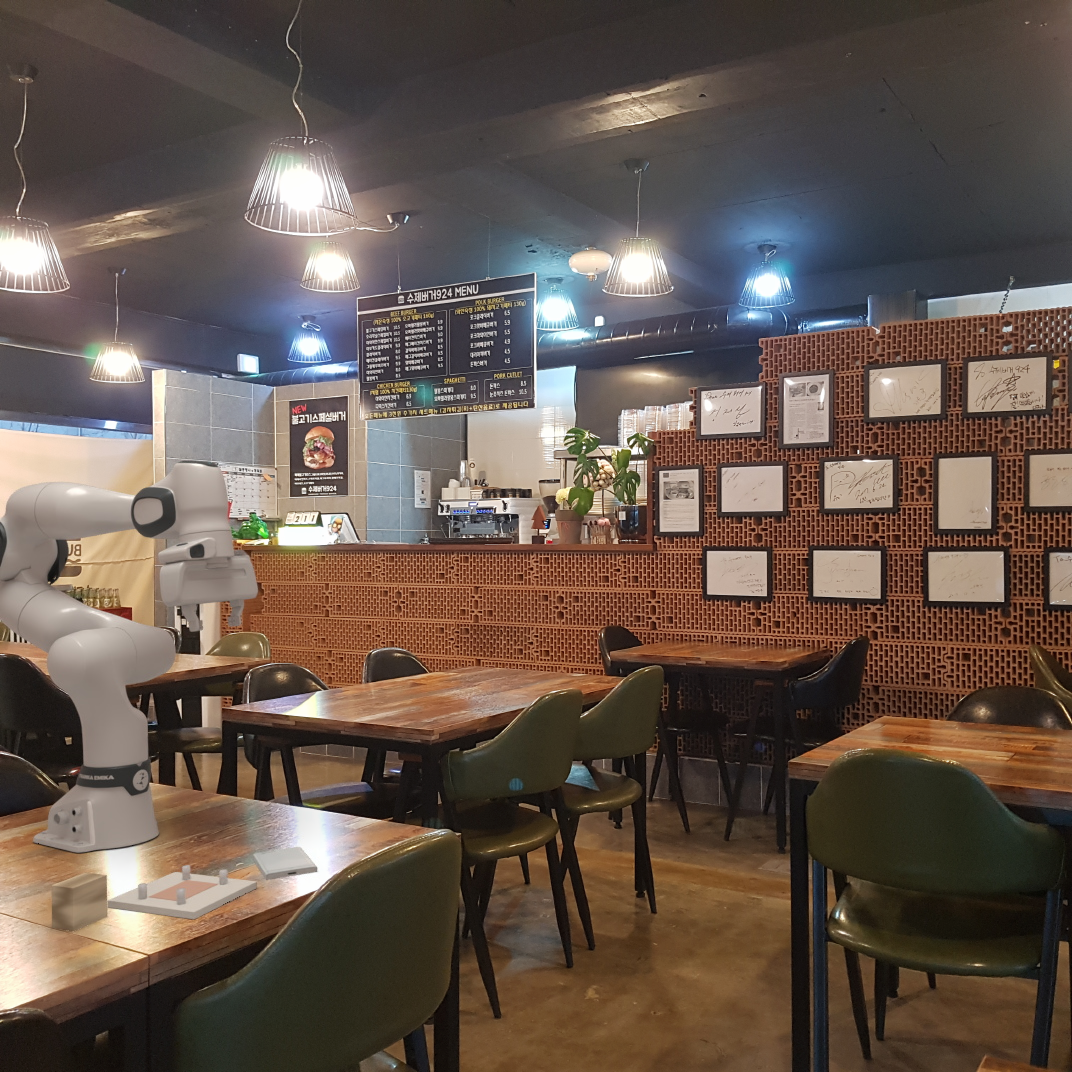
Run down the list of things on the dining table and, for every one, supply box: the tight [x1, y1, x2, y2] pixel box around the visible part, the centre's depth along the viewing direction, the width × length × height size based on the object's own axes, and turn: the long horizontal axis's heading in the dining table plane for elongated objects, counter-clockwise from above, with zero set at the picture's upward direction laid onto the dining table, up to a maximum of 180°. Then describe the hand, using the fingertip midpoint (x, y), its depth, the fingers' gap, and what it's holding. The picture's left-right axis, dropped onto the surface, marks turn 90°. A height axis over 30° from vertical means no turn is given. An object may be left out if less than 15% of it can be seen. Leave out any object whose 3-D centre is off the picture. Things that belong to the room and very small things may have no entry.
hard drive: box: [252, 846, 318, 881], centre depth 165 cm, size 2×8×12 cm
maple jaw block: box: [51, 872, 108, 932], centre depth 141 cm, size 4×6×6 cm, turn 158°
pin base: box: [107, 864, 258, 920], centre depth 151 cm, size 16×14×3 cm
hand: (216, 628), depth 175 cm, fingers open, 8 cm apart
